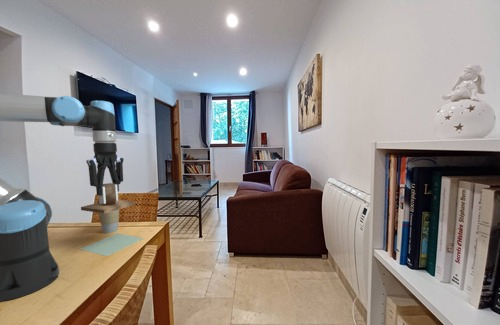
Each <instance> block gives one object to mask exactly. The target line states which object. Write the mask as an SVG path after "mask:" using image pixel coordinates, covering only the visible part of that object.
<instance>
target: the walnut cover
mask: <svg viewBox="0 0 500 325" xmlns="http://www.w3.org/2000/svg"><path fill="white" fill-rule="evenodd" d="M102 187H105V197H106V204H100V203H98V202H95V203H92V204H89V205H88V204H87V205H83V206H81V207H80V211H85V212H92V213H98V214H99V213H103V214H105V213H108V212H112V211H115V210H118V209H119V210H121V209H125V208H129V207H132V206H135V205H136V201H133V200H125V199H118V201H115V186H114V183H112V182H110V183H108V182H107V183H103V186H102Z"/></svg>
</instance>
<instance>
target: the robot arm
mask: <svg viewBox="0 0 500 325" xmlns="http://www.w3.org/2000/svg"><path fill="white" fill-rule="evenodd" d="M115 115H116V114H115V107H114V104H113V103H112V102H111V101H105V100H92V101H90V105H83V103H82V102H81V100H78V99H77V98H75V97H73V96H69V95H62V96H59V97H56V96H44V95H43V96H42V95H32V94H31V95H29V94H18V93H17V94H16V93H15V94H14V93H1V92H0V122H16V123H18V122H19V123H21V122H23V123H49V124H50V125H52V126H59V127H60V126H61V127H65V126H66V127H88V128H89V127H91V128H92V130H91V131H92V141H93V142H94V143H92V145H93V152H94V156H93V158H91V159H86V164H87V166H88V175H89V176H88V177H89V184H90V185H89V186H90V187H94V188H96V189H95V190H96V195H97V196H98V201H99V203H100V204H106V197H105V187H102V186H103V184H104V179H105V173H106V170H107V169H108V172H109V176H110V179H111V183H114V186H115V201H118V200H119V191H120V186H119V185H120V184H121V183H122V182H124V168H123V166H124V164H123V163H124V158H123V157H119V156H118V154H117V152H118V148H117V143H116V142H117V134H116V116H115ZM52 217H53V210H52V208H51V205H50V204H49V202H48V201H46V200H45V199H43V198H40V197H37V196H35V195H34V194H33V193H31V192H30V191H28V190H27V189H26V188H15V187H13V186H12V185H10V184H9V183H8V182H7V181H5V180H4V179H2V178H1V177H0V302H6V301H11V300H14V299H18V298H21V297H24V296H27V295H30V294H33V293H35V292H38V291H39V290H42V289H43V288H45V287H47V286H48V285H50V284H52V283H53V282H54V281H55V280H57V279H58V278H59V275H60V267H59V264H58V263H57V261H56V259H55V258H54V256H53V255H52V253H51V251H50V242H49V233H48V232H49V231H48V226H49V223H50V222H51V220H52Z"/></svg>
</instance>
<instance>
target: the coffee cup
mask: <svg viewBox="0 0 500 325" xmlns="http://www.w3.org/2000/svg"><path fill="white" fill-rule="evenodd" d="M97 203H99V200H98V201H97ZM98 217H99V221H100V225H101V229H102V230H101V231H102V233H103V234H113V233H115V232H117V231H118V230H119V222H120V209H118V210H115V211H112V212H108V213H105V214H103V213H98Z"/></svg>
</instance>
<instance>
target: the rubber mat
mask: <svg viewBox="0 0 500 325" xmlns="http://www.w3.org/2000/svg"><path fill="white" fill-rule="evenodd" d="M144 239H145V238H144V237H139V236H135V235H129V234H123V233H114V234H112V235H110V236H107V237H105V238H102V239H100V240H97V241H95V242H92V243H90V244H88V245H86V246H83V247H81V248H79V250H81V251H85V252H89V253H92V254H96V255H101V256H105V257H109V256H110V255H113V254H115V253H117V252H119V251H122V250H123V249H125V248H127V247H129V246H131V245H134V244H135V243H137V242H139V241H141V240H144Z"/></svg>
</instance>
